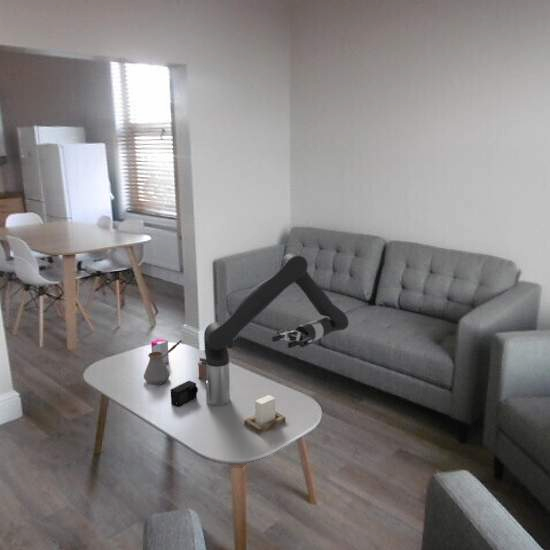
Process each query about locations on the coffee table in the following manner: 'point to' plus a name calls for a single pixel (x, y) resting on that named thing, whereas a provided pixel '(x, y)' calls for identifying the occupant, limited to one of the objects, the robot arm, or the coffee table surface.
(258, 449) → the coffee table surface
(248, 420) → the frame
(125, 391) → the coffee table surface
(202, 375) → the lighter
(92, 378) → the coffee table surface
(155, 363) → the coffee pot
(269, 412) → the key block
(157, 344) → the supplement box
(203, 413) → the coffee table surface
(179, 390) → the digital camera
